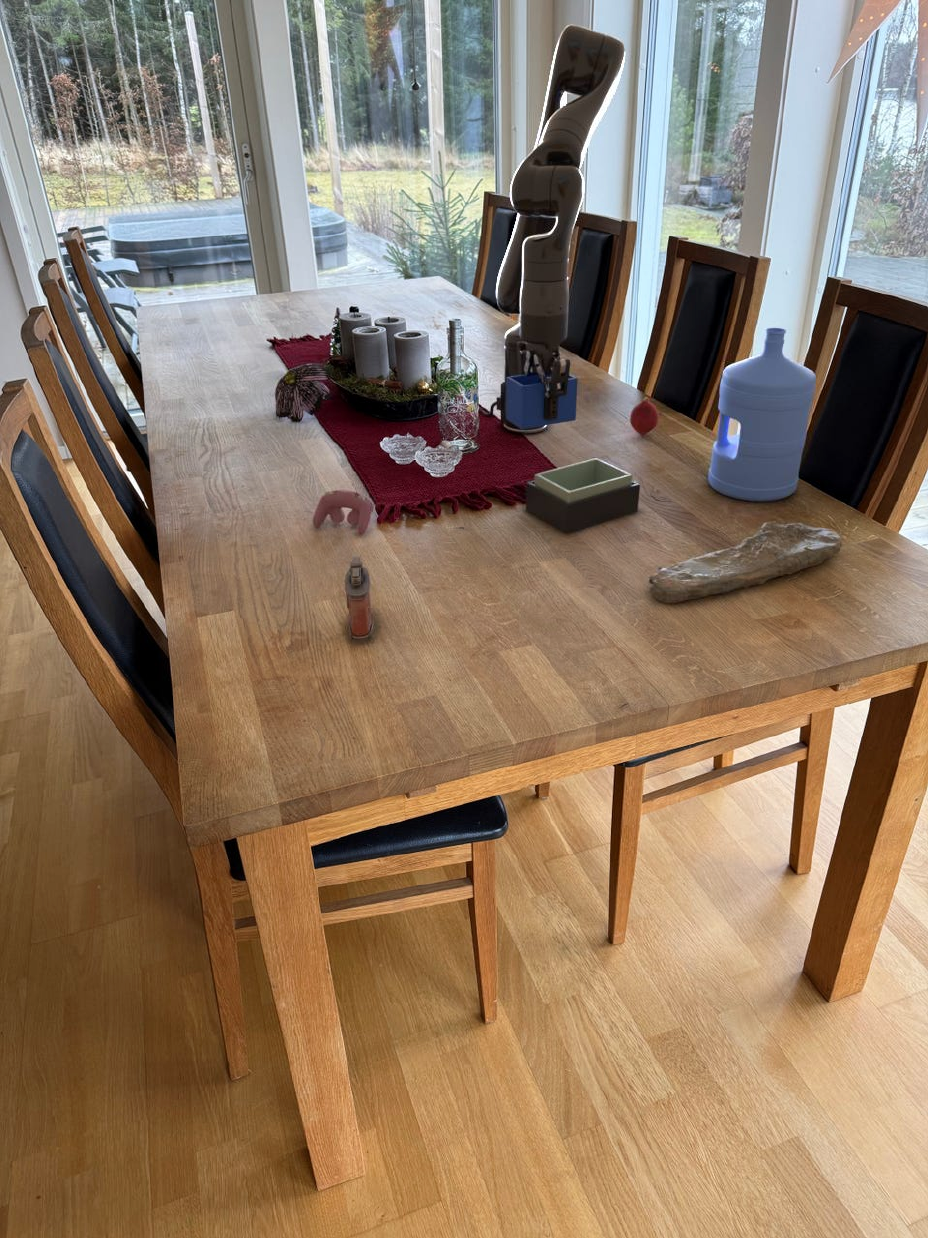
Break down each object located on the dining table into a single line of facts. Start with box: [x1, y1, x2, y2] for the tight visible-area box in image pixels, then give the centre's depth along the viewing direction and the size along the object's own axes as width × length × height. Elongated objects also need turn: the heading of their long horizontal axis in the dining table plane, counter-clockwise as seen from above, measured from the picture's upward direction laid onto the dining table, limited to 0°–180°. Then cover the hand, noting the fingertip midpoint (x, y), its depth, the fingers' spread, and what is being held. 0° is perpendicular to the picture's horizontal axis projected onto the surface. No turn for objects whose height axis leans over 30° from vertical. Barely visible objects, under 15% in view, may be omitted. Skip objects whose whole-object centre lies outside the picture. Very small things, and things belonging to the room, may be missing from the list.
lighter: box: [344, 556, 375, 644], centre depth 122 cm, size 8×3×10 cm, turn 5°
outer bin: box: [525, 480, 641, 535], centre depth 155 cm, size 16×12×5 cm
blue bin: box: [506, 373, 579, 429], centre depth 146 cm, size 10×6×7 cm, turn 113°
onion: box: [629, 396, 659, 436], centre depth 186 cm, size 6×6×8 cm
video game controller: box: [312, 489, 375, 535], centre depth 152 cm, size 10×5×7 cm, turn 71°
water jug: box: [707, 327, 817, 502], centre depth 157 cm, size 16×16×28 cm
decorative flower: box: [274, 362, 332, 423], centre depth 202 cm, size 14×12×15 cm
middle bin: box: [533, 457, 633, 503], centre depth 154 cm, size 14×10×6 cm
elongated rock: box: [648, 520, 843, 605], centre depth 135 cm, size 35×5×10 cm
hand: (541, 413), depth 148 cm, fingers closed on blue bin, 5 cm apart
